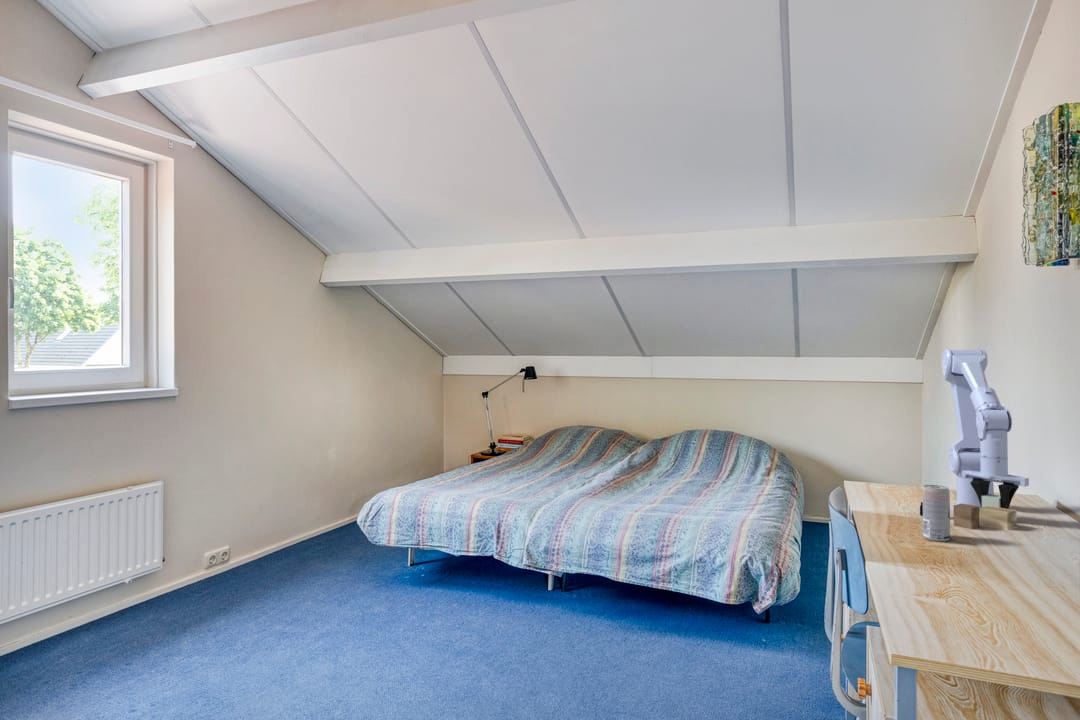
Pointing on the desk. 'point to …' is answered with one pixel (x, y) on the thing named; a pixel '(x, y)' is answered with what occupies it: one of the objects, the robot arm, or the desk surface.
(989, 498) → the sage block
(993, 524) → the base block
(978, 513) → the walnut block
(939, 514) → the energy drink
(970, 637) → the desk surface
